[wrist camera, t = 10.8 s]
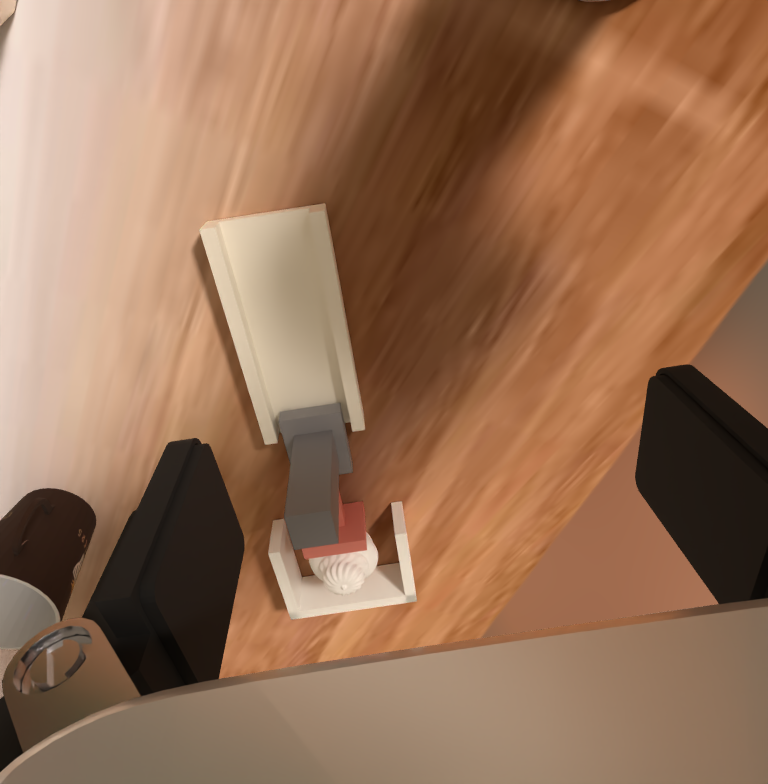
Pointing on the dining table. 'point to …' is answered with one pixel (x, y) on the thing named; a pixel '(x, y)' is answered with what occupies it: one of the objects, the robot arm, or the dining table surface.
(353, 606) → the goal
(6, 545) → the coffee mug
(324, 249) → the track
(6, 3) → the white cup
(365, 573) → the white ribbed dome
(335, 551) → the block
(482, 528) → the dining table surface
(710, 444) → the robot arm
